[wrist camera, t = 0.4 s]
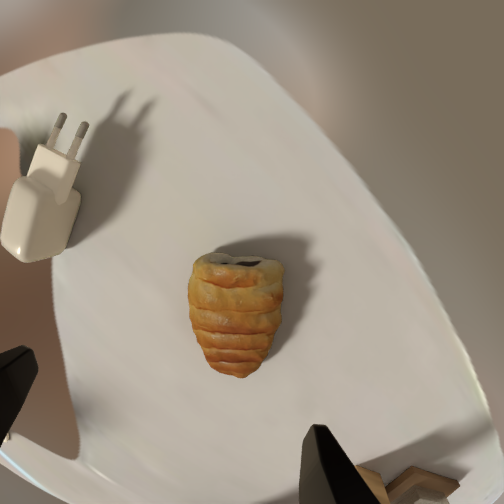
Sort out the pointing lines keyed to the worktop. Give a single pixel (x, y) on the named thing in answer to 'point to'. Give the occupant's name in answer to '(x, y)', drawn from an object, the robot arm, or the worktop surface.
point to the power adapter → (44, 201)
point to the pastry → (235, 309)
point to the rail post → (374, 484)
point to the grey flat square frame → (421, 496)
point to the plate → (420, 483)
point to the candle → (6, 438)
